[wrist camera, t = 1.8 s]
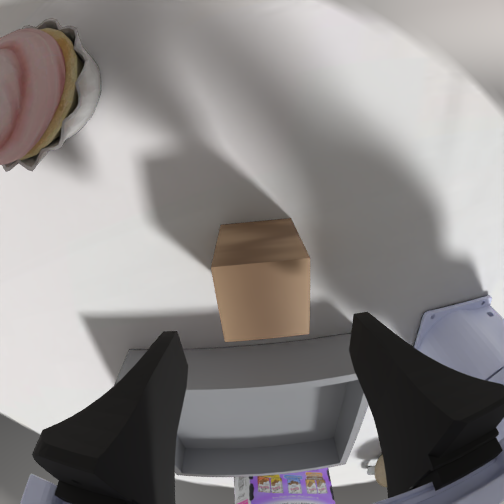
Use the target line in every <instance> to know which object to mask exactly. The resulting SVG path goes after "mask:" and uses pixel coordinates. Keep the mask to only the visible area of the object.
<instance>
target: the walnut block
mask: <svg viewBox="0 0 504 504" xmlns="http://www.w3.org/2000/svg"><path fill="white" fill-rule="evenodd" d="M211 271H212V276H213V282H214V287H215V293H216V298H217V304H218V309H219V314H220V319H221V325H222V330H223V335H224V340H225V342H233V341H247V340H259V339H269V338H279V337H288V336H297V335H305V334H309V325H310V257H309V255H308V253H307V250H306V248H305V246H304V244H303V242H302V240H301V238H300V236H299V234H298V232H297V230H296V228H295V226H294V224H293V222H292V220H291V218H288V219H277V220H266V221H255V222H245V223H235V224H225V225H221V226H220V230H219V235H218V239H217V243H216V247H215V252H214V256H213V260H212V265H211Z"/></svg>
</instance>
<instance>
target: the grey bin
mask: <svg viewBox="0 0 504 504" xmlns="http://www.w3.org/2000/svg"><path fill="white" fill-rule="evenodd" d="M350 339H351V333H349V334H343V335H336V336H330V337H323V338H316V339H308V340H300V341H292V342H283V343H273V344H263V345H251V346H238V347H223V348H204V349H183V351H184V354H185V357H186V360H187V363H188V378H187V388H186V393H185V397H184V402H183V407H182V412H181V416H180V421H179V426H178V431H177V438H176V452H175V473H176V474H177V475H184V476H201V477H249V476H267V475H278V474H288V473H296V472H304V471H311V470H317V469H323V468H328V467H334V466H339V465H343V464H346V462H347V459H348V457H349V455H350V452H351V450H352V448H353V445H354V443H355V440H356V438H357V435H358V432H359V430H360V427H361V424H362V422H363V419H364V416H365V413H366V410H367V408H368V405H369V404H368V402H367V399H366V397H365V395H364V392H363V390H362V388H361V385H360V383H359V380H358V378H357V376H356V373H355V371H354V367H353V364H352V360H351V357H350V353H349V345H350ZM146 352H147V350H132V349H129V352H128V354H127V356H126V359H125V361H124V363H123V366H122V368H121V370H120V373H119V375H118V378H117V380H116V383H115V385H116V384H117V383H118V382H119V381H120V380H121V379H122V378H123V377H124V376H125V375H126V374H127V373H128V372H129V371H130V370H131V369H132V368H133V367H134V365H135V364H136V363H137V362H138V361H139V360H140V359H141V357H142V356H143V355H144V354H145V353H146ZM115 385H114V386H115Z"/></svg>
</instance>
